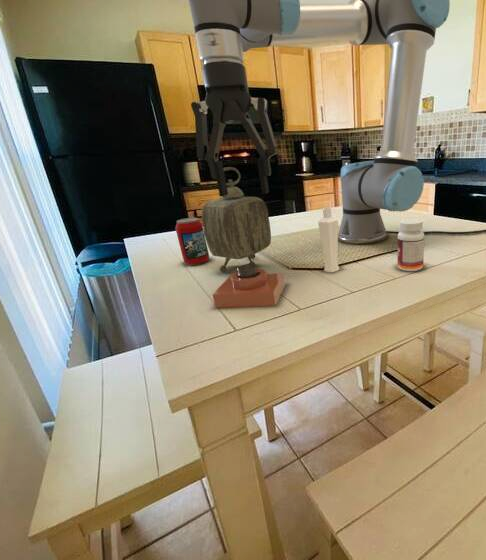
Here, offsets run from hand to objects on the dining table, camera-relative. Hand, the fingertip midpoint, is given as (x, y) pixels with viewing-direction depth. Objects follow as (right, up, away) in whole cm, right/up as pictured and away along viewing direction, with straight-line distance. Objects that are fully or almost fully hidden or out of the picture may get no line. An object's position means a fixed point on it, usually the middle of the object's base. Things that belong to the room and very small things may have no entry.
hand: (244, 194), depth 69 cm
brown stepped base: (+1, -21, +2) cm, 21 cm away
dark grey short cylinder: (+1, -17, 0) cm, 17 cm away
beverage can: (-21, -13, +26) cm, 36 cm away
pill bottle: (+36, -15, +13) cm, 41 cm away
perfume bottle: (+17, -15, +14) cm, 27 cm away
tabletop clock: (-5, -14, +20) cm, 25 cm away
